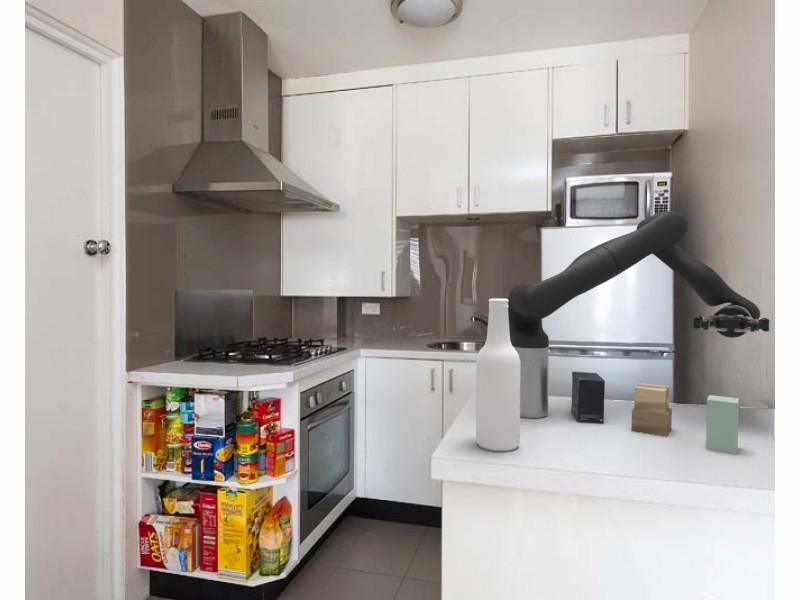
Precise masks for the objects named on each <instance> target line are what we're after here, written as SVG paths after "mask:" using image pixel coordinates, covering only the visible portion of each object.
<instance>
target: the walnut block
mask: <svg viewBox="0 0 800 600" xmlns="http://www.w3.org/2000/svg"><path fill="white" fill-rule="evenodd" d="M672 418H673V408H672V407H669V409H668V410H667V411H666V413H665V414H661V413H654V412H647V411H641V410H634V407H633V408H632V409H631V432H634V431H635V433H640V432H642V433H641V434H646V433H648V434H647V435H652V434H654V435H653V436H658V435H660V436H659V437H664V436H665V438H667V437H668V435H670V433H669V432H671V431H672V428H673V427H672V425H673V423H672V421H673V419H672Z"/></svg>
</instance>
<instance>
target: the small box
mask: <svg viewBox="0 0 800 600" xmlns="http://www.w3.org/2000/svg"><path fill="white" fill-rule="evenodd" d="M605 382H606V381H605V379H604V378H602V376H600V375H599V374H598V373H597V372H588V371H587V372H583V371H572V372H571V384H572V385H571V407H570V412H571V413H572V415H573V417H574V419H575V421H576V422H578V423H580V422H581V423H592V424H593V423H594V424H595V423H596V424H604V423H605V422H604V420H605V418H604V417H605V388H606V387H605V385H606V383H605Z"/></svg>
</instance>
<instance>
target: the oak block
mask: <svg viewBox="0 0 800 600" xmlns="http://www.w3.org/2000/svg"><path fill="white" fill-rule="evenodd" d="M633 405H634V407H633V408H634V410H641V411H647V412H654V413H661V414H665V413H666V411H667V410H668V409H669V408H670V386H668V385H658V384H649V383H643V382H640V383H639V384H637V385H636V386H635V387H634V403H633Z"/></svg>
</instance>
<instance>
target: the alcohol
mask: <svg viewBox="0 0 800 600" xmlns="http://www.w3.org/2000/svg"><path fill="white" fill-rule="evenodd" d="M508 302H509V300H508V298H489V299H488V303H489V304H488V321H487V322H488V323H487V330H486V331H487V332H486V339H485V343H484V345H483V347H481V348H480V350H479V352H478V353H477V357H476V362H475V363H476V365H475V366H476V370H475V371H476V374H475V375H476V377H475V379H476V383H475V385H476V386H475V387H476V389H475V390H476V391H475V392H476V393H475V394H476V395H475V402H476V403H475V405H476V406H475V413H476V414H475V427H476V428H475V441H476V443H477V444H478V446H479V447H480V448H482V449H484V450H486V451H491V452H499V453H500V452H512V451H514V450H516V449H517V448H518V447H519V445H520V441H521V417H520V358H519V354H518V353H517V351H516V350H515V348H514V347H513V346H512V344H511V338H510V331H509V317H508V307H509V305H508Z"/></svg>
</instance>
